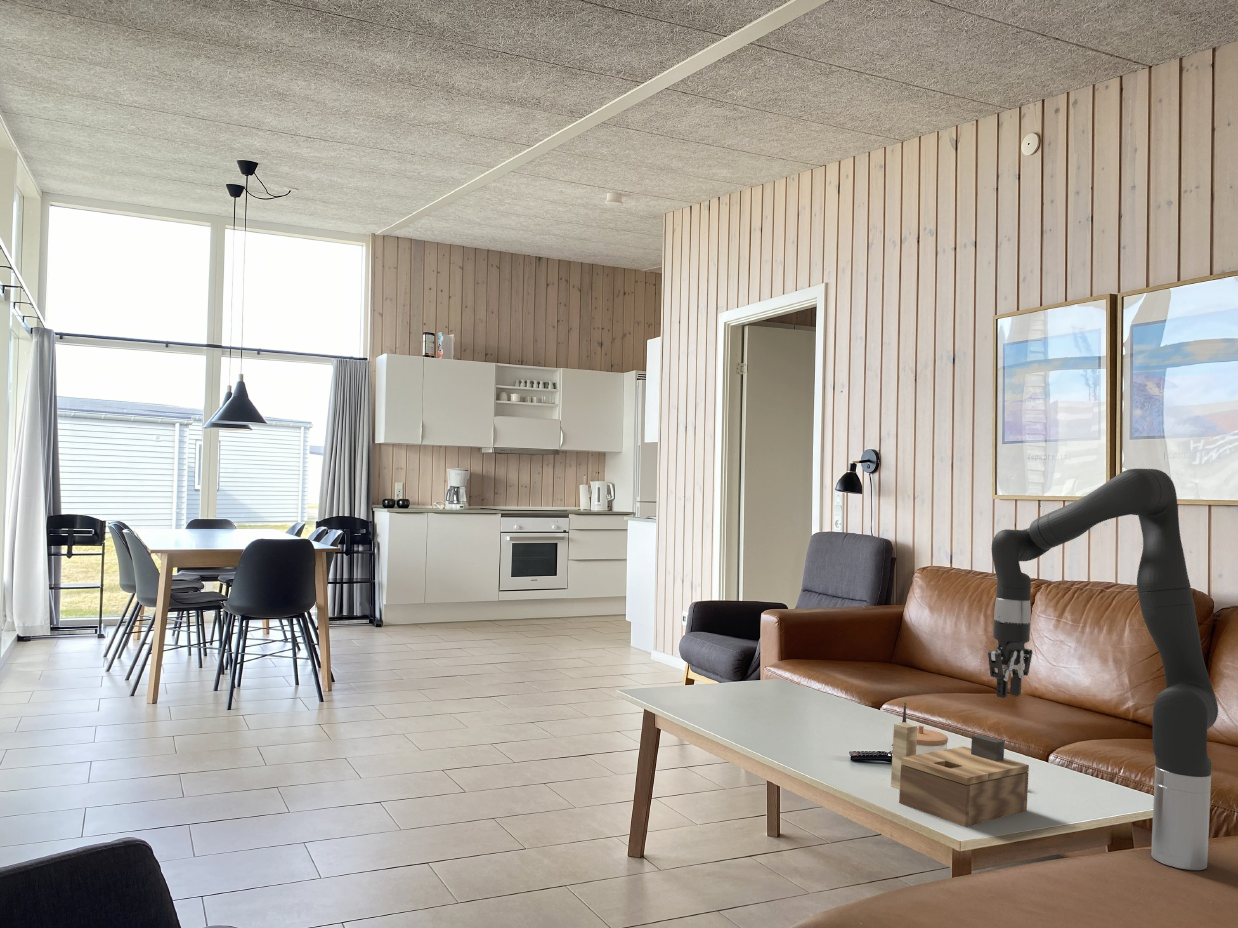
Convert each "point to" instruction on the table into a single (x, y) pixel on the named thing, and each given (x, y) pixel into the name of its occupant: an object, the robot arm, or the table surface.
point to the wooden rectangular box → (963, 796)
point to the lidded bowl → (930, 741)
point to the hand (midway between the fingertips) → (1008, 695)
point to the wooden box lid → (968, 762)
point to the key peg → (902, 748)
